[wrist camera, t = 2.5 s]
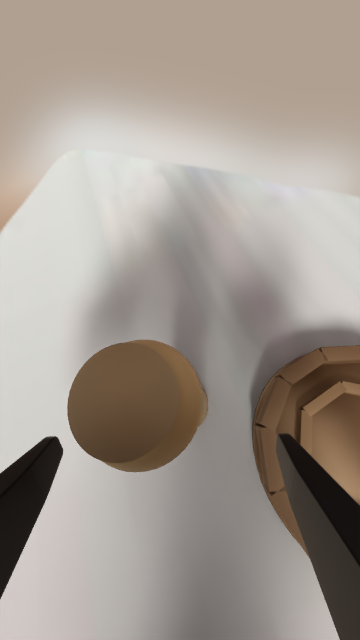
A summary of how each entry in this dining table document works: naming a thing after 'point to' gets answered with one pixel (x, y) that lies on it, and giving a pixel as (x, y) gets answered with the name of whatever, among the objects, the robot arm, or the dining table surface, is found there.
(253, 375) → the dining table surface
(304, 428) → the groove tray
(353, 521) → the robot arm
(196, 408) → the post
